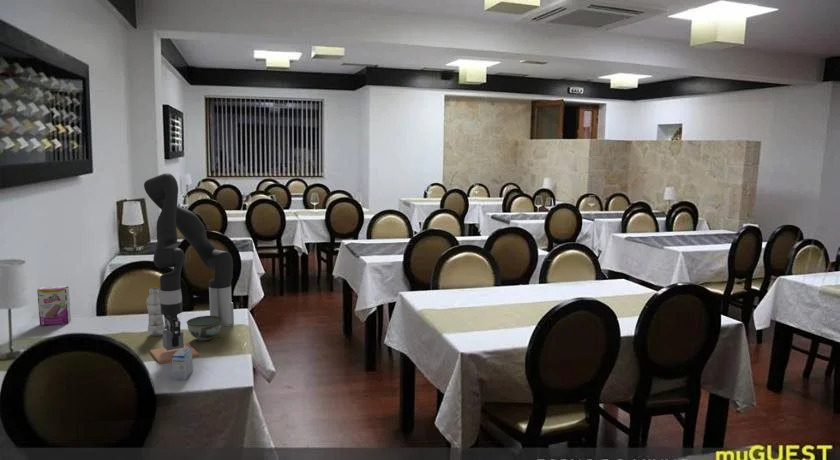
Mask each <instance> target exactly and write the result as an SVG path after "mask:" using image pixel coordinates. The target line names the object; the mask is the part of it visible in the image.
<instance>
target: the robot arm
mask: <svg viewBox="0 0 840 460" xmlns="http://www.w3.org/2000/svg"><path fill="white" fill-rule="evenodd" d="M143 189H144V191H145V193H146V194H147V196H148V197H149V199H150V200H151V201H153V203H154V204H155V205H156V206H157V207H158V208H159V209H160V213H159V216H158V218H157V220H156V225H155V226H156V227H155V228H156V247H155V251H154V254H153V264H154V265H155V266H156V268H159V269H166V268H173V269H172V270H171V271H169V272H166V273H163V274H161V275H160V277H159V285H160V286H159V287H160V288H159V295H160V306H161V314H162V315H163V320H164V325H165V330H169V331H170V332H171V336H172V346H173V347H176V346H179V337H178V336H180V335H181V334H180V330H181V321H180V319H179V317H178V315H180V314H182V313H183V294H182V287H181V274H182V273H181V272H182V270H183V265H184V261H185V253H184V250H183V249H182V248H179V247H174V248H168V247H172V246H175V245H176V244H177V242H178V233H177V232H180V234H181V235H182V236H183V238H184V239H185V240H186V241H187V242H188V243H189V245H190V246H191V247H192V248H193V250H195V252H196V254H197V255H198V256H199V258H200V259H201V261H202V264H204V266H205V267H206V268H207V269H208V270H211V271H212V272H213V271H214V277H213V278H212V279H210V280H209V281H208V293H209V294H208V295H209V296H208V297H209V298H208V299H209V316H218V317H221V318H222V321H221V328H222V327H227V326H230V325H233V324H235V319H234V317H235V315H234V302H232V300H233V299H232V280H233V273H234V270H233V269H234V263H233V262H234V260H233V257H232V254H231V253H230V252H228V251H227V250H226V251H225V250H220V249H217V248H216V247H214V246H213V244H212V243H211V242H210V241H209V239H208V237H207V231H206V226H205V225H204V223H203V222H202V221H201V219H200V218H199V217H198V215H197V214H195V213H194V212H193V211H191V210H189V209H186V208H185V207H183V206H181V205H178V199H179V185H178V181H177V179H176V177H175V176H174V175H173V174H172V173H169V172H166V173H162V174H160V175H156V176H154V177H151V178H149V179H146V180H145V181H144V183H143ZM177 230H178V231H177ZM175 331H177V333H175Z"/></svg>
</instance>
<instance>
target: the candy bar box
mask: <svg viewBox="0 0 840 460" xmlns="http://www.w3.org/2000/svg"><path fill="white" fill-rule="evenodd" d="M69 287H70V286H69V285H59V286H55V285H54V286H41V287H39V288H38V289H37V290H36V291H37V304H38V317H39V327H40V326H53V325H54V326H55V325H56V326H57V325H69V324H70V322H71V321H72V317H71V316H72V315H71V302H70V288H69Z"/></svg>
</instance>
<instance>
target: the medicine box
mask: <svg viewBox="0 0 840 460" xmlns="http://www.w3.org/2000/svg"><path fill="white" fill-rule="evenodd" d="M171 363H172V380H173V381H179V380H181V381H185V380H187V378H188V377H189V376H190V375H191V373H192V372H193V369H194V368H193V367H194V366H193V365H194V364H193V357H192V348H179V349H178V350H177V352H176V353H175V354H174V355H173V356H172V361H171Z"/></svg>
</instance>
